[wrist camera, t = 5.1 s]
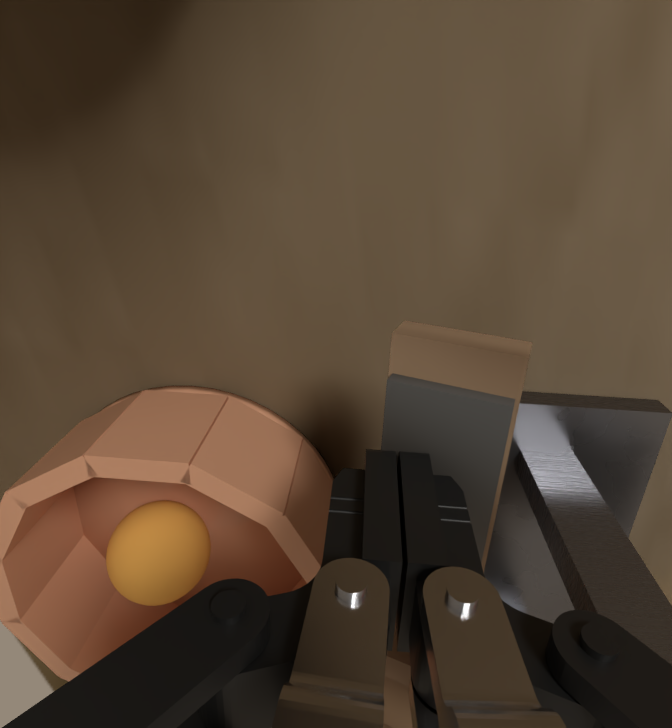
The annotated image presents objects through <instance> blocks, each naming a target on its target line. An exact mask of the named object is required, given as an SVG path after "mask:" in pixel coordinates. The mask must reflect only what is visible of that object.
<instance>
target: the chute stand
mask: <svg viewBox="0 0 672 728" xmlns="http://www.w3.org/2000/svg"><path fill="white" fill-rule="evenodd" d="M671 417H672V412H671V411H669V410H668V409H667V408H666V407H665V406H664V405H663V404H662V403H661V402H660V401H658V400H646V399H630V398H615V397H599V396H584V395H568V394H553V393H538V392H522V395H521V400H520V404H519V409H518V414H517V418H516V423H515V428H514V433H513V437H512V442H511V447H510V451H509V456H508V461H507V466H506V470H505V475H504V480H503V485H502V489H501V494H500V499H499V503H498V508H497V513H496V518H495V522H494V527H493V532H492V536H491V541H490V546H489V551H488V555H487V560H486V565H485V569H484V576H485V578H486V579H487V580H488V581H489V582H491V584H492V585H493V586H494V587H495V588H496V590H497V591H498V593H499V595H500V597H501V599H502V600H503V601H504V602H505V603H507V604H508V605H510V606H511V607H513V608H515V609H517V610H519V611H521V612H523V613H526V614H529V615H531V616H534V617H537V618H540V619H542V620H545V621H548V622H551V623H553V624H554V622H555V620H556V618H557V617H558V616H559V615H561V614H562V613H564V612H567V611H570V610H586V611H591V612H594V613H597V614H600V615H602V616H605V617H607V618H609V619H610V620H612V621H614V622H615V623H617V624H618V625H620V626H621V627H622V628H624V629H625V630H626V631H628V632H629V633H630V634H632V635H633V636H634V637H636V638H637V639H638V640H639V641H641V642H642V643H643V644H645V645H646V646H647V647H649V648H650V649H651V650H653V651H654V652H655V653H656V654H658V655H659V656H660V657H662V658H663V659H664V660H666V661H667V662H668V663H670V664H671V665H672V606H671V604H670V603H669V601H668V600H667V598H666V596H665V595H664V593H663V592H662V590H661V589H660V587H659V586H658V584H657V582H656V581H655V579H654V578H653V576H652V575H651V573H650V571H649V570H648V568H647V567H646V565H645V564H644V562H643V560H642V559H641V557H640V556H639V554H638V553H637V551H636V550H635V548H634V546H633V545H632V543H631V542H630V540H629V539H628V537H629V534H630V531H631V529H632V526H633V523H634V520H635V517H636V515H637V512H638V509H639V506H640V503H641V501H642V498H643V495H644V492H645V489H646V487H647V484H648V481H649V478H650V475H651V473H652V470H653V467H654V464H655V461H656V459H657V456H658V453H659V450H660V447H661V445H662V442H663V439H664V436H665V433H666V431H667V428H668V425H669V422H670V419H671Z"/></svg>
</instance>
